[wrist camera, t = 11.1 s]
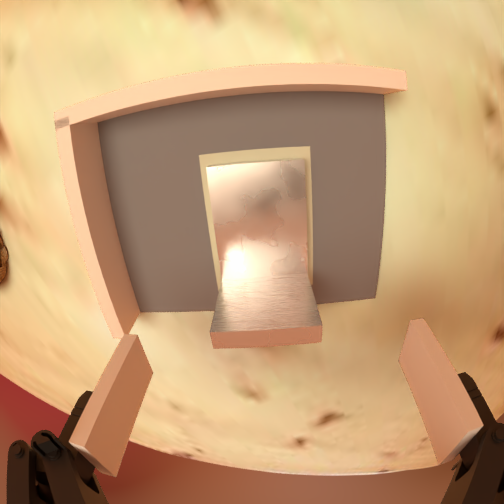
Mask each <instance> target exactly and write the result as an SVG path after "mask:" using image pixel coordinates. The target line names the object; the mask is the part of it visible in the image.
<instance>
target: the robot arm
mask: <svg viewBox="0 0 504 504" xmlns="http://www.w3.org/2000/svg"><path fill="white" fill-rule="evenodd" d="M398 361H399V363H400V365H401V368H402V370H403V372H404V375H405V377H406V379H407V382H408V384H409V386H410V389H411V391H412V394H413V396H414V399H415V401H416V404H417V406H418V409H419V411H420V414H421V416H422V419H423V422H424V424H425V427H426V430H427V433H428V435H429V438H430V441H431V444H432V447H433V450H434V453H435V456H436V459H437V462H438V465H440V464H443V463H446V462H448V461H451V460H453V459H454V458H455V457H456V456H457V455H458V454H459V453H460V456H461V459H460V460H459V461H458V462H457V463H456V464H455V465H454V466H453V468H452V470H454V469H455V468H456V467H457V468H456V471H455V473H454V475H453V478H452V480H451V483H450V485H449V487H448V489H447V492H446V494H445V496H444V498H443V500H442V502H441V504H504V424H502V423H497V422H496V420H495V419H494V417H493V415H492V413H491V411H490V409H489V407H488V405H487V403H486V401H485V400H484V398H483V396H481V395H482V394H481V392H480V390H479V389H478V387H477V385H476V383H475V382H474V380H473V379H472V378H471V377H470V376H469V375H468V374H467V373H466V372H464V373H460V374H457V373H456V371H455V369H454V367H453V366H452V364H451V362H450V361H449V359H448V357H447V355H446V354H445V352H444V350H443V349H442V347H441V345H440V344H439V342H438V341H437V339H436V337H435V336H434V334H433V333H432V331H431V329H430V328H429V326H428V325H427V323H426V322H425V320H424V318H421V319H415V320H410V322H409V326H408V330H407V334H406V337H405V341H404V344H403V347H402V351H401V354H400V357H399V360H398ZM152 375H153V371H152V369H151V366H150V364H149V362H148V359H147V357H146V355H145V352H144V350H143V347H142V345H141V342H140V340H139V337H138V335H132V334H124V336H123V337H122V339H121V341H120V343H119V344H118V346H117V348H116V350H115V352H114V353H113V355H112V357H111V359H110V361H109V363H108V364H107V366H106V368H105V370H104V372H103V374H102V376H101V378H100V379H99V381H98V383H97V385H96V387H95V389H94V391H93V392H91V391H86V392H85V393H84V394H82V395H81V396H80V397H79V399H78V401H77V403H76V404H75V406H74V407H75V408H73V410H72V412H71V415H70V416H69V418H68V420H67V422H66V424H65V426H64V428H63V430H62V432H61V434H60V436H59V438H57V437H56V436H55V435H54V434H53V433H52V432H50V431H48V430H42V431H39V432H37V433H36V434H35V435H34V436H33V438H32V440H31V447H30V446H29V445H28V444H27V443H26V442H24V441H23V440H18V441H15V442H14V443H12V444H11V446H10V448H9V452H8V465H7V504H109V503H108V501H107V499H106V497H105V495H104V493H103V491H102V489H101V486H100V484H99V482H98V480H97V477H96V475H95V474H94V469H95V468H96V469H98V470H99V471H100V472H101V473H104V474H107V475H110V476H114V477H116V476H117V473H118V469H119V467H120V464H121V461H122V458H123V455H124V452H125V449H126V446H127V443H128V440H129V437H130V434H131V432H132V429H133V426H134V423H135V420H136V418H137V415H138V412H139V409H140V407H141V404H142V401H143V398H144V396H145V393H146V390H147V388H148V385H149V383H150V380H151V377H152Z"/></svg>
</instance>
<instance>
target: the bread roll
mask: <svg viewBox="0 0 504 504" xmlns="http://www.w3.org/2000/svg"><path fill="white" fill-rule="evenodd" d="M7 260H8V253H7V251H6V249H5V246H4V244H3V241H2V239H1V236H0V283H1V282H2V280H3V278H4V276H5V274H6V268H7V265H6V261H7Z"/></svg>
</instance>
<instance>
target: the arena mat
mask: <svg viewBox="0 0 504 504" xmlns="http://www.w3.org/2000/svg"><path fill="white" fill-rule="evenodd" d="M97 123H98V132H99V139H100V146H101V153H102V160H103V166H104V172H105V177H106V183H107V188H108V193H109V198H110V203H111V208H112V212H113V217H114V221H115V225H116V229H117V234H118V238H119V242H120V246H121V249H122V253H123V257H124V260H125V264H126V268H127V271H128V275H129V278H130V281H131V285H132V288H133V291H134V294H135V297H136V301H137V304H138V307H139V310H140V312H189V311H215V307H216V302H217V298H218V293H219V289H220V285H221V280H222V278H221V272H220V265H219V259H218V252H217V245H216V238H215V231H214V224H213V216H212V209H211V202H210V194H209V186H208V178H207V170H206V167H207V166H209V165H213V164H223V163H233V162H243V161H255V160H268V159H284V158H303V159H304V161H305V182H306V208H307V258H308V277H309V280H310V284H311V287H312V290H313V294H314V297H315V301H316V304H324V303H334V302H344V301H354V300H363V299H372V298H375V296H376V290H377V282H378V275H379V266H380V257H381V248H382V237H383V224H384V208H385V183H386V135H385V111H384V96H383V94H375V93H361V92H339V91H291V92H270V93H255V94H243V95H233V96H224V97H216V98H209V99H202V100H195V101H189V102H183V103H177V104H172V105H167V106H162V107H157V108H152V109H148V110H143V111H139V112H135V113H130V114H126V115H122V116H119V117H115V118H111V119H108V120H104V121H101V122H97Z"/></svg>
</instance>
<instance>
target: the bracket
mask: <svg viewBox="0 0 504 504" xmlns="http://www.w3.org/2000/svg"><path fill="white" fill-rule="evenodd" d="M206 170H207V178H208V186H209V194H210V202H211V209H212V216H213V224H214V231H215V238H216V245H217V252H218V259H219V265H220V272H221V278H222V280H221V285H220V289H219V293H218V298H217V302H216V307H215V312H214V316H213V321H212V325H211V330H210V335H211V339H212V344H213V348H246V347H266V346H281V345H294V344H306V343H316V342H321V339H322V322H321V318H320V315H319V311H318V308H317V304H316V301H315V297H314V294H313V290H312V287H311V284H310V280H309V277H308V258H307V208H306V182H305V161H304V159H303V158H284V159H268V160H255V161H243V162H233V163H223V164H213V165H209V166H207V167H206Z"/></svg>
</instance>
